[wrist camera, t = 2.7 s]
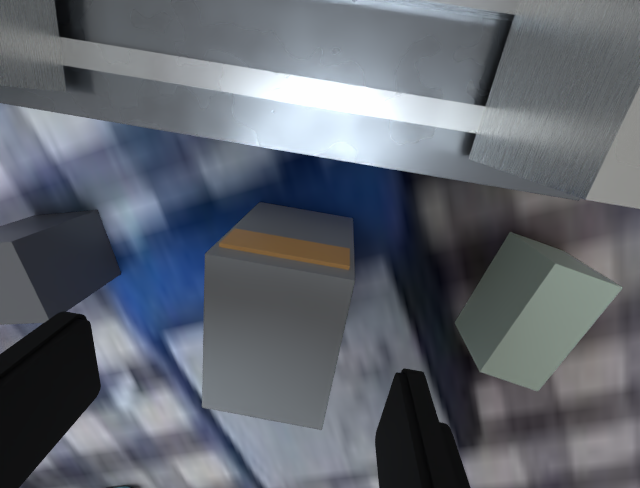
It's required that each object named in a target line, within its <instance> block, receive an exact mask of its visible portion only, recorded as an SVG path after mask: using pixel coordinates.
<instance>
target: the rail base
mask: <svg viewBox="0 0 640 488" xmlns="http://www.w3.org/2000/svg"><path fill="white" fill-rule="evenodd" d="M0 103H3V104H9V105H15V106H21V107H27V108H33V109H39V110H45V111H51V112H57V113H63V114H68V115H74V116H80V117H86V118H92V119H98V120H104V121H110V122H116V123H122V124H128V125H134V126H140V127H145V128H151V129H157V130H163V131H169V132H175V133H181V134H187V135H193V136H199V137H205V138H211V139H216V140H222V141H228V142H234V143H240V144H246V145H252V146H258V147H264V148H270V149H276V150H282V151H288V152H293V153H299V154H305V155H311V156H317V157H323V158H329V159H335V160H341V161H347V162H353V163H359V164H365V165H370V166H376V167H382V168H388V169H394V170H400V171H406V172H412V173H418V174H424V175H430V176H436V177H442V178H447V179H453V180H459V181H465V182H471V183H477V184H483V185H489V186H495V187H501V188H507V189H513V190H519V191H524V192H530V193H536V194H542V195H548V196H554V197H560V198H566V199H572V200H578V201H579V200H580V198H582V199H585V200H590V201H596V202H602V203H608V204H614V205H620V206H626V207H632V208H638V209H640V0H0Z"/></svg>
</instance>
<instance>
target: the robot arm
mask: <svg viewBox="0 0 640 488" xmlns="http://www.w3.org/2000/svg"><path fill="white" fill-rule="evenodd" d="M100 387H101V384H100V378H99V372H98V366H97V360H96V354H95V348H94V342H93V336H92V330H91V324H90V322H89V321H87V319H86V317H85V316H84V315H82V314H76V313H70V312H64V311H63V312H59V313H57V314H56V315H54V316H53V317H52V318H50V319H49V320H47V321H46V322H45V323H43V324H42V325H40V326H39V327H38V328H36V329H35V330H33V331H32V332H31V333H29V334H28V335H26V336H25V337H24V338H22V339H21V340H20V341H18V342H17V343H15V344H14V345H13V346H11V347H10V348H8V349H7V350H6V351H4V352H3V353H1V354H0V488H19V487H20V486H21V485H22V484H23V482H24V481H25V480H26V479H27V478H28V477H29V475H30V474H31V473H32V472H33V471H34V470H35V468H36V467H37V466H38V465H39V464H40V462H41V461H42V460H43V459H44V458H45V457H46V455H47V454H48V453H49V452H50V451H51V450H52V448H53V447H54V446H55V445H56V444H57V443H58V441H59V440H60V439H61V438H62V437H63V436H64V434H65V433H66V432H67V431H68V430H69V429H70V427H71V426H72V425H73V424H74V423H75V422H76V420H77V419H78V418H79V417H80V416H81V415H82V413H83V412H84V411H85V410H86V409H87V408H88V406H89V405H90V404H91V403H92V402H93V401H94V399H95V398H96V397H97V395H98V393H99V391H100ZM375 446H376V457H377V467H378V478H379V488H470V485H469V482H468V479H467V476H466V473H465V470H464V467H463V464H462V461H461V458H460V455H459V452H458V449H457V446H456V443H455V440H454V437H453V434H452V432H451V429H450V427H449V426H448V425H447V424H445V423H439V420H438V417H437V414H436V410H435V407H434V404H433V401H432V397H431V394H430V391H429V387H428V384H427V381H426V378H425V375H424V373H423V372H422V371H416V370H410V369H403V370H402V372H401V373H396V374H395V376H394V379H393V382H392V385H391V388H390V391H389V395H388V398H387V401H386V404H385V407H384V410H383V413H382V416H381V419H380V422H379V425H378V428H377V432H376V438H375Z"/></svg>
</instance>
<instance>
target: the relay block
mask: <svg viewBox="0 0 640 488" xmlns="http://www.w3.org/2000/svg"><path fill="white" fill-rule="evenodd" d="M120 274H121V272H120V269H119V266H118V264H117V261H116V258H115V255H114V253H113V250H112V247H111V245H110V242H109V239H108V236H107V234H106V231H105V228H104V226H103V223H102V220H101V217H100V215H99V212H98V210H91V211H80V212H69V213H58V214H47V215H36V216H32V217H28V218H25V219H22V220H19V221H16V222H12V223H9V224H6V225H3V226H0V325H4V324H26V323H45V322H46V321H47V320H49V319H50V318H52V317H53V316H54V315H56V314H57V313H59V312H63V311H64V312H66V311H68V310H69V309H71V308H72V307H73V306H75V305H76V304H78V303H79V302H81V301H82V300H84V299H85V298H87V297H88V296H90V295H91V294H92V293H94V292H95V291H97V290H98V289H100V288H101V287H103V286H104V285H106V284H107V283H108V282H110V281H111V280H113V279H114V278H116V277H117V276H119V275H120Z"/></svg>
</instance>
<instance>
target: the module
mask: <svg viewBox="0 0 640 488" xmlns="http://www.w3.org/2000/svg"><path fill="white" fill-rule="evenodd" d="M354 283H355V265H354V236H353V218H349V217H343V216H338V215H332V214H326V213H320V212H315V211H309V210H303V209H297V208H292V207H286V206H280V205H274V204H268V203H263V202H259V203H258V204H257V205H256V206H255V207H254V208H253V209H252V210H251V211H250V212H249V213H248V214H247V215H246V216H244V217H243V218H242V219H241V220H240V221H239V222H238V223H237V224H236V225H235V226H234V227H233V228H232V229H231V230H230V231H229V232H228V233H227V234H225V235H224V236H223V237H222V238H221V239H220V240H219V241H218V242H217V243H216V244H215V245H214V246H213V247H212V248H211V249H210V250H209V251H208V252H206V253H205V284H204V335H203V386H202V408H208V409H213V410H218V411H224V412H229V413H234V414H239V415H245V416H250V417H255V418H261V419H266V420H271V421H277V422H282V423H287V424H292V425H298V426H303V427H308V428H314V429H319V430H322V427H323V422H324V418H325V413H326V409H327V404H328V400H329V395H330V391H331V386H332V382H333V377H334V373H335V368H336V364H337V360H338V355H339V351H340V346H341V342H342V337H343V333H344V328H345V324H346V319H347V315H348V310H349V306H350V301H351V297H352V292H353V288H354Z"/></svg>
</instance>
